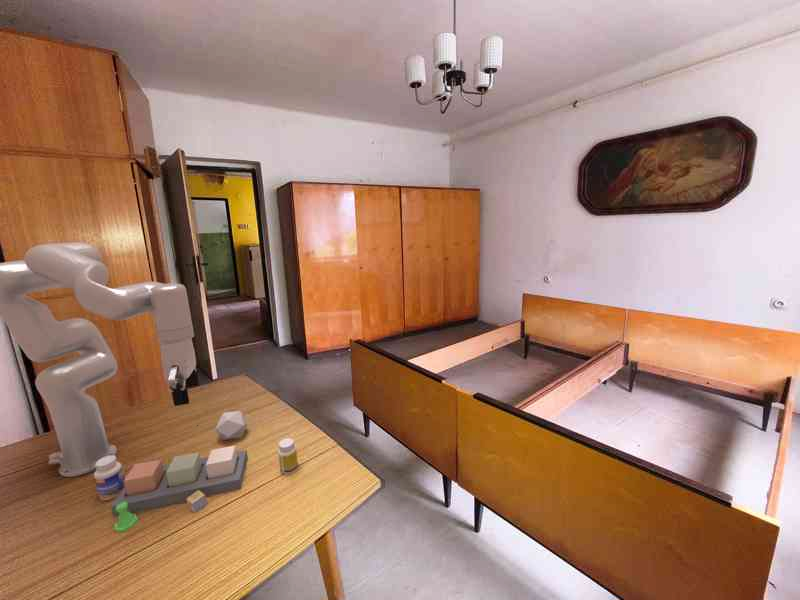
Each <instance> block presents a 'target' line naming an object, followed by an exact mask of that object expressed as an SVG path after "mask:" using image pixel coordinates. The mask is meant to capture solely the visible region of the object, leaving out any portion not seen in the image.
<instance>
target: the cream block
mask: <svg viewBox="0 0 800 600" xmlns="http://www.w3.org/2000/svg"><path fill="white" fill-rule="evenodd" d="M236 452H237V448H236V445H232V446H231V445H230V446H226V447H221V448H215V449H211V450H210V453H209V455H208V457H209V458H208V460H207V463H206V469H207V474H208V479H213V478H217V477H222V476H227V475H232V474H235V472H236V468H237V466H236V465H237V461H238V460H237V453H236Z"/></svg>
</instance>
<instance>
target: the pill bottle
mask: <svg viewBox="0 0 800 600" xmlns="http://www.w3.org/2000/svg"><path fill="white" fill-rule="evenodd" d="M95 465H96V470H94V473H93V477H94V481H95V485H96V489H97V493H98V497H99V499H100V500H101V501H108V500H112V499H116V498H117V497H118V495H119V494H120V492H121V491H122V489H123V488H124V486H125V485H124V480H125V478H126V477H125V473H124V470H123V466H122V463H121V462H119V461H118V459H117V455H116V456H114V455H111V456H106V457H104V458H102V459H100V460H98V461H97V462H96V464H95Z"/></svg>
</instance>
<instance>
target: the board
mask: <svg viewBox="0 0 800 600" xmlns="http://www.w3.org/2000/svg"><path fill="white" fill-rule="evenodd" d="M236 453H237V460H238V461H237V465H236V469H235V473H234V474H232V475H227V476H222V477H217V478H213V479H208V474H207V469H206V463H207V460H208V458H209V456H206V457H200V458H201V463H202V470H201V472H200V475H199V477H198V480H197V482H193V483H189V484H184V485H179V486H174V487H169V485H168V480H167V475H166V472H167V470H168V468H169V466H170V464H171V463H170V464H165V465H164V464H163V468H164V473H165V476H164V477H163V479H162V481H161V483H160V485H159V487H158V489H157V490H155V491H150V492H145V493H141V494H136V495H131V496H127V493H126V489H125V486H124V488H123V489H122V491H121V492H120V494H119V495H118V496H117V497H115V500H114V501H113V503H112V505H111V506H110V508H111V511H112V515H113V518H116V517H119V514H120V513H119V512H116V507H117V505H118V504H120V503H122V502H126V503H128V507H127V509H126V510H128V511H129V512H130V513H131V514H134V513H139V512H144V511H148V510H152V509H156V508H157V509H158V508H160V507H162V508H163V507H164V506H165V507H166V506H170V505H174V504H179V503H184V502H187V498H188V497H189V496H191V495H192V494H194V493H195V492H196V491H198V490H199V491H201V492H202V493H203V494H205V496H206V498H207V497H211V496H215V495H220V494H224V493H229V492H234V491H237V490H241V489H242V486H243V481H244V478H245V477H244V476H245V472H246V469H247V465H248V464H247V463H248V458H249V457H248V451H247V449H244V450H238V451H237V450H236Z"/></svg>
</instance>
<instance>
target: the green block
mask: <svg viewBox="0 0 800 600" xmlns="http://www.w3.org/2000/svg"><path fill="white" fill-rule="evenodd" d="M200 453H201V452H194V453H188V454H182V455H177V456H174V457H173V458H172V460H171V463H170V466H169V468H168V470H167V472H166V475H167V480H168V485H169V487H174V486H179V485H184V484H189V483H193V482H197V480H198V478H199V475H200V472H201V470H202V463H201V458H202V457H201V454H200Z"/></svg>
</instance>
